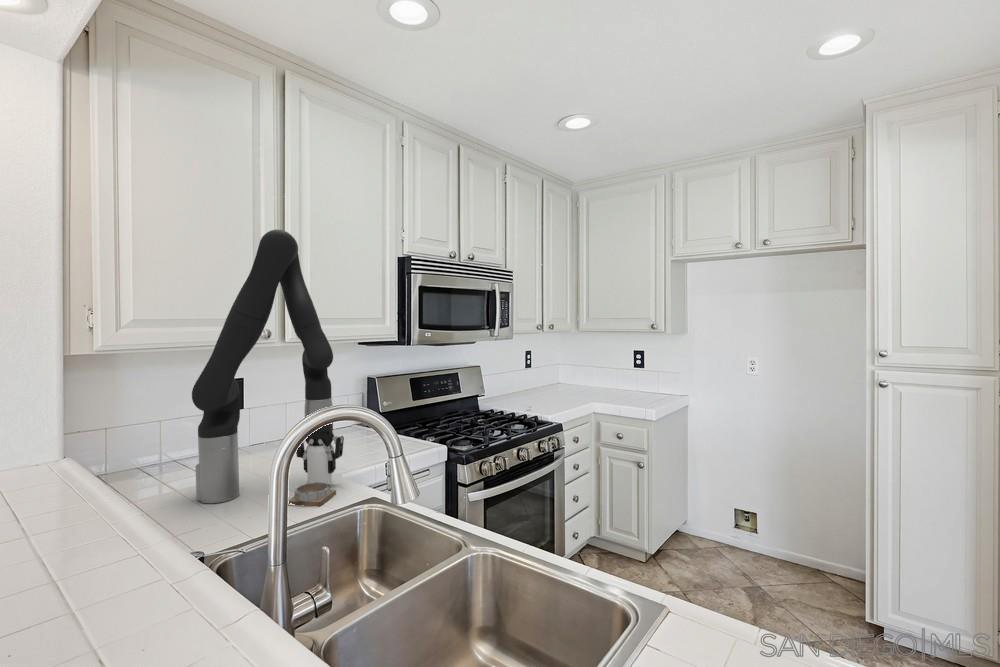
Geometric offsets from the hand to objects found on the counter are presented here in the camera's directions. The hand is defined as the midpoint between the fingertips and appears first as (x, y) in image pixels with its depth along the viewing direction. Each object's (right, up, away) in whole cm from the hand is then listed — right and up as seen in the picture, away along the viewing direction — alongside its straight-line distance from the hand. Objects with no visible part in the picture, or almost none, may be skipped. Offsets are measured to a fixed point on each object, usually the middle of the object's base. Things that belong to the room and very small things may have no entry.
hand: (319, 472), depth 139 cm
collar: (+2, -3, -10) cm, 11 cm away
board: (+2, -4, -10) cm, 11 cm away
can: (0, -4, 0) cm, 4 cm away
